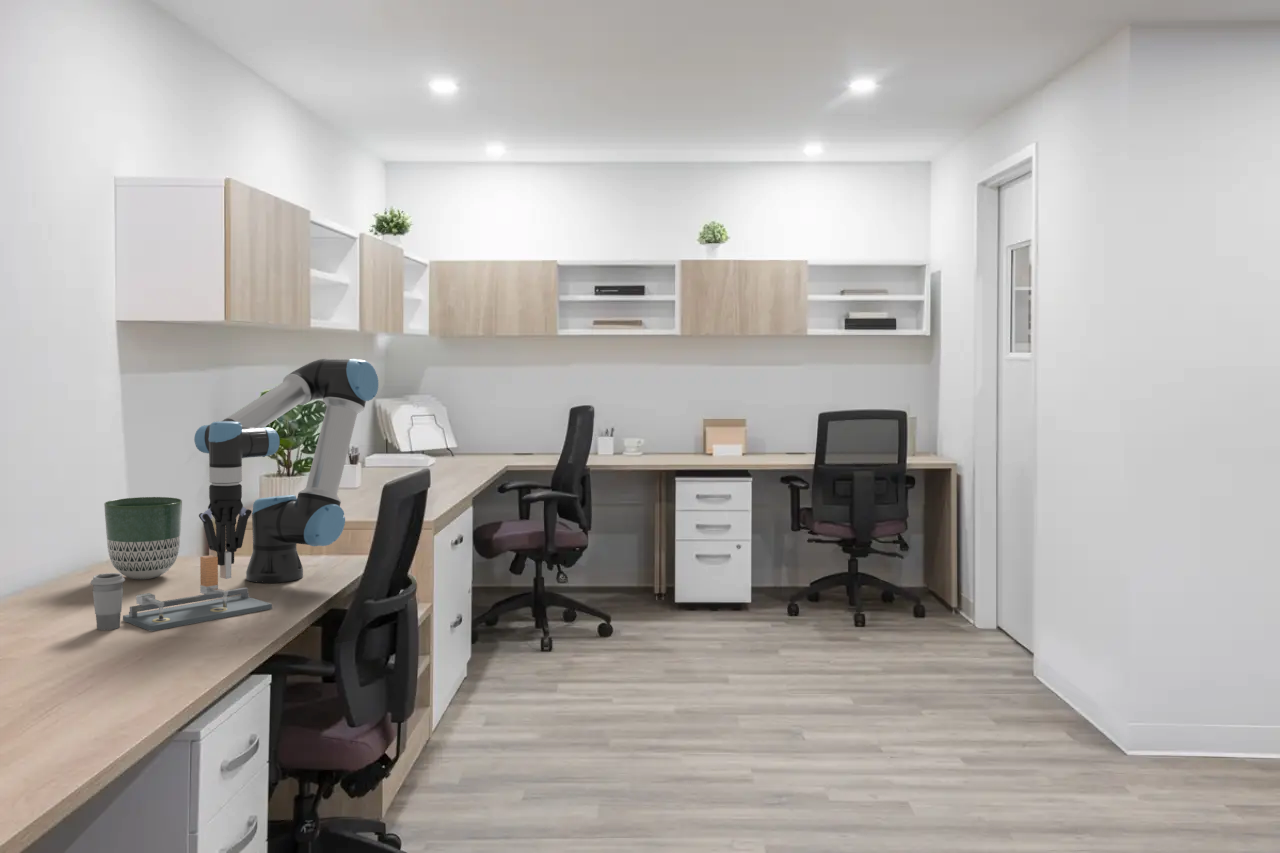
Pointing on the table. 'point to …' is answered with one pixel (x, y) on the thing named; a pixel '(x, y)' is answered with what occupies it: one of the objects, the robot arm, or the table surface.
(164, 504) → the planter
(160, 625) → the gauge board
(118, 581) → the cup
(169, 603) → the rail
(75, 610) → the table surface
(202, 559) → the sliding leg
